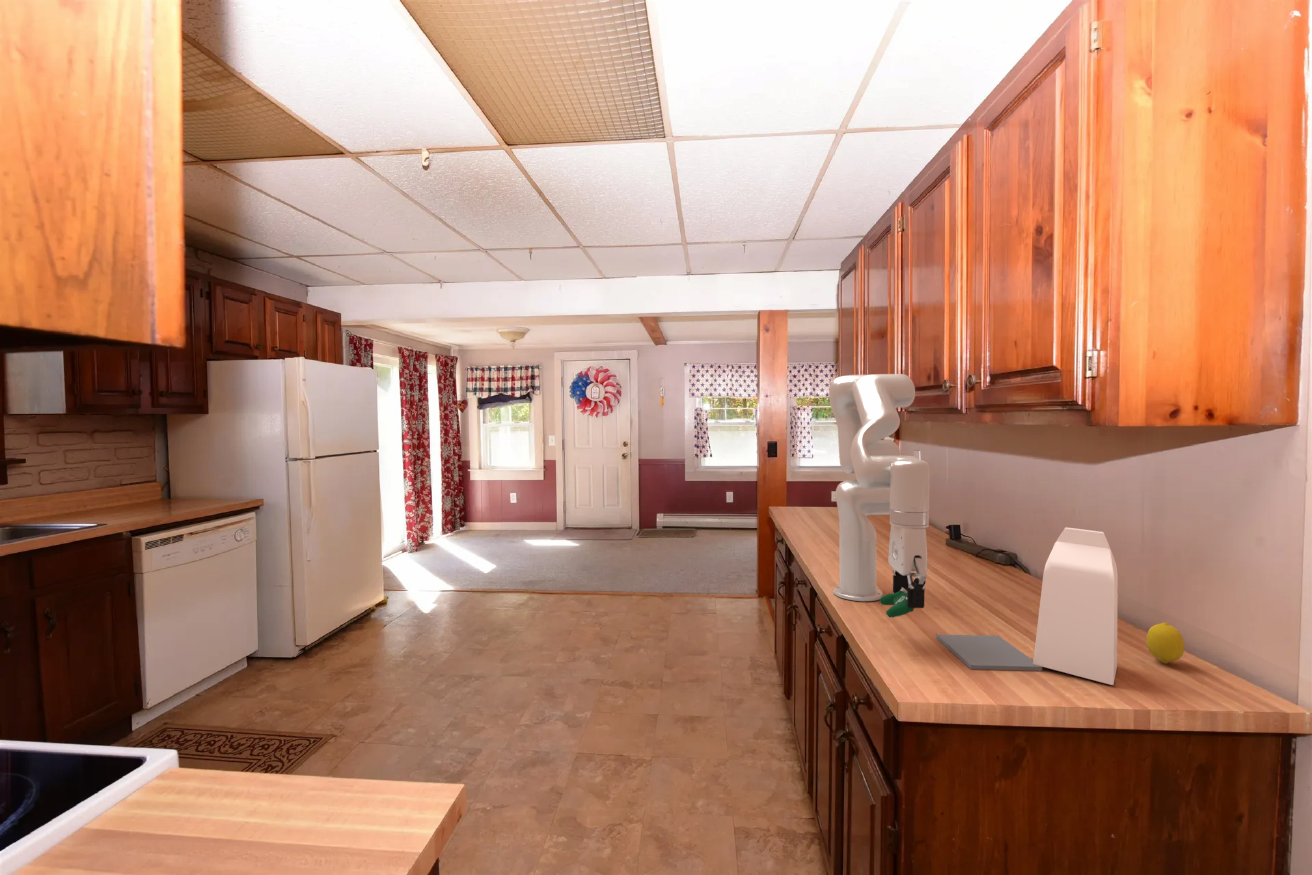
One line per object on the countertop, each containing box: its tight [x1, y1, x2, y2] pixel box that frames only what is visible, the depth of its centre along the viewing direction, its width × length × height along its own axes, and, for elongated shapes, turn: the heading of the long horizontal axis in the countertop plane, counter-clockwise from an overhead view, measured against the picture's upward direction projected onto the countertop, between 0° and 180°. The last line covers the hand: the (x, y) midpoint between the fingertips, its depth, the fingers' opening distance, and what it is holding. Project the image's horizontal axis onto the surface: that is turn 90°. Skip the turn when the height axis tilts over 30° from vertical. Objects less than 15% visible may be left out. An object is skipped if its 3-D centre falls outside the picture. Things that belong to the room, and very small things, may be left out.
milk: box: [1032, 527, 1119, 686], centre depth 109 cm, size 12×12×26 cm
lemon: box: [1145, 621, 1185, 665], centre depth 111 cm, size 6×6×8 cm
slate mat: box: [935, 633, 1043, 672], centre depth 117 cm, size 16×13×1 cm
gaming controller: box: [879, 587, 915, 618], centre depth 122 cm, size 9×4×6 cm
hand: (907, 599), depth 121 cm, fingers closed on gaming controller, 8 cm apart
